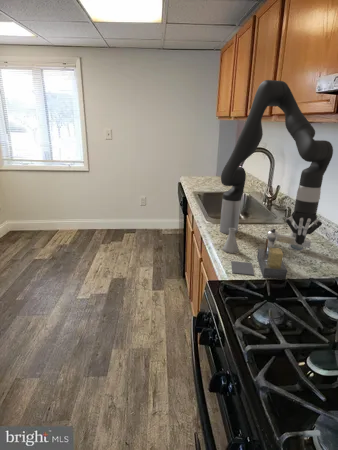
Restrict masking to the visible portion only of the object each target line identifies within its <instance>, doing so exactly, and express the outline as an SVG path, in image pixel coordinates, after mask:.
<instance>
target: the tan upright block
mask: <svg viewBox="0 0 338 450" xmlns="http://www.w3.org/2000/svg"><path fill="white" fill-rule="evenodd" d="M283 253H284V252H283V251H282V249H281V248H277V247H274V248H269V254H268V260H267V261H268V264H269V267H278V268H281V264H282V260H283V257H284V254H283Z"/></svg>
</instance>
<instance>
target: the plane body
mask: <svg viewBox="0 0 338 450" xmlns="http://www.w3.org/2000/svg"><path fill="white" fill-rule="evenodd" d="M275 242H276V241H271V240H268V239H267V238H265V244H264V248H258V249H257V254H256V258H257V262H258V265H259V268H260V273H261V276H262V278H263V279H270V280H271V279H272V280H280V281H281V280H282V279H287V275H288V268H287V267H286V264H285V263H284V262H285V261H284V260H283V259H282V264H281V268H278V267H269V264H268V261H267V260H268V254H269V248H275Z"/></svg>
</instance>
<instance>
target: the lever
mask: <svg viewBox="0 0 338 450" xmlns="http://www.w3.org/2000/svg"><path fill="white" fill-rule="evenodd" d="M295 238H296V237H292V236H291V235H287V234H283V233H282V234H281V233H279V232H278V231H276V228H271V229H270V230H268V231H267V239H268V240H271V241H275V242H279V243H285V244H288V245H289V244H292V245H297V246H301V247H304V248H307V249H310V248H311V245H312V240H310V239H306V238H305V240H304V243H302V245H300V244H297V243H296V241H295Z"/></svg>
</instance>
